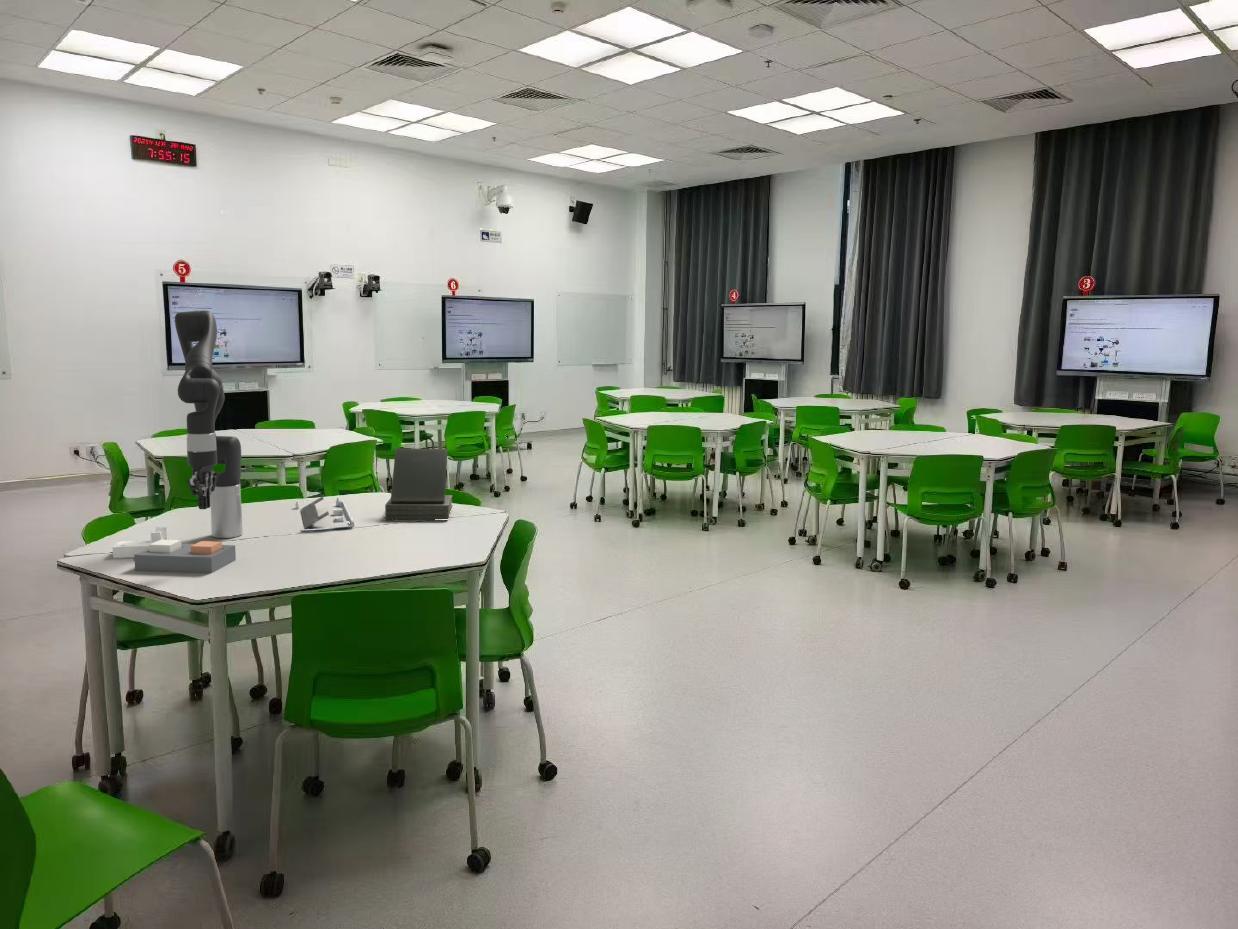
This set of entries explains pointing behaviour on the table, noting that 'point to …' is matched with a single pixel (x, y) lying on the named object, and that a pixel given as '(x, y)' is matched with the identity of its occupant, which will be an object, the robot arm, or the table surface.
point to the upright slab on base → (419, 486)
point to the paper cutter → (325, 514)
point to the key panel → (184, 560)
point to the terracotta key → (206, 547)
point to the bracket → (137, 544)
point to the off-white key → (165, 546)
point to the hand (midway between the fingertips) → (204, 508)
